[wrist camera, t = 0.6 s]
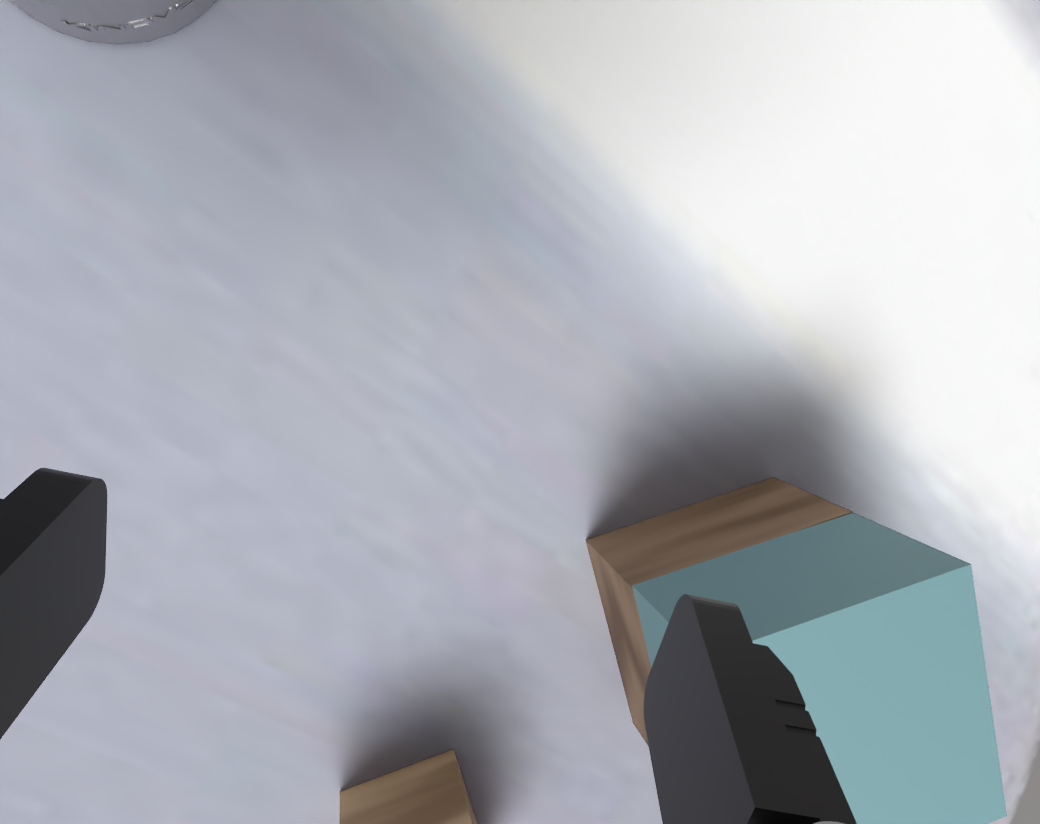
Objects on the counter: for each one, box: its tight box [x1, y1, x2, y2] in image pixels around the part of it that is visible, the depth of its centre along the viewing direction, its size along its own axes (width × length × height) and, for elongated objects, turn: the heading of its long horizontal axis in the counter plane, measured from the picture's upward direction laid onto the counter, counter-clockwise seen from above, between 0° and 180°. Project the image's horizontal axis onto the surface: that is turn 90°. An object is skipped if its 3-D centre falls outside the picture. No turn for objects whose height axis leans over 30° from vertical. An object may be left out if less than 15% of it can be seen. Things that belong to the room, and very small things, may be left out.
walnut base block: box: [586, 477, 853, 746], centre depth 34 cm, size 9×9×6 cm
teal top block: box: [632, 513, 1007, 824], centre depth 28 cm, size 9×9×6 cm
